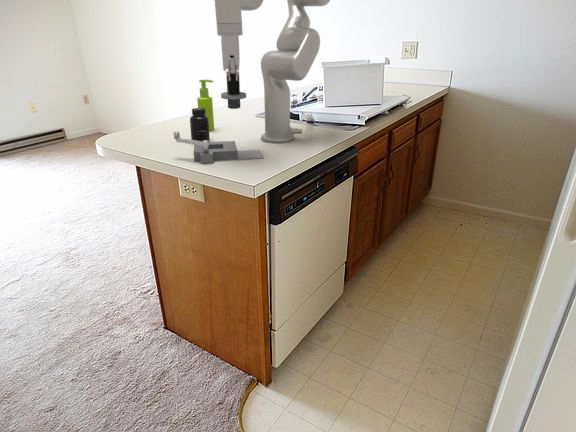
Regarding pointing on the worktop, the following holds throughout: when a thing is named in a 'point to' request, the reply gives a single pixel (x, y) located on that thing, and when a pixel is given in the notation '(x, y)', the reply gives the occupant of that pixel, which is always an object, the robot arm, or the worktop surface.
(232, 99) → the plug
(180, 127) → the worktop surface
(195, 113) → the supplement bottle
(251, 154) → the mat
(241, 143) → the worktop surface
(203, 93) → the soap dispenser
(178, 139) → the clip
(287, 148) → the worktop surface
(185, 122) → the worktop surface
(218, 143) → the grey flat block
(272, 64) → the robot arm
